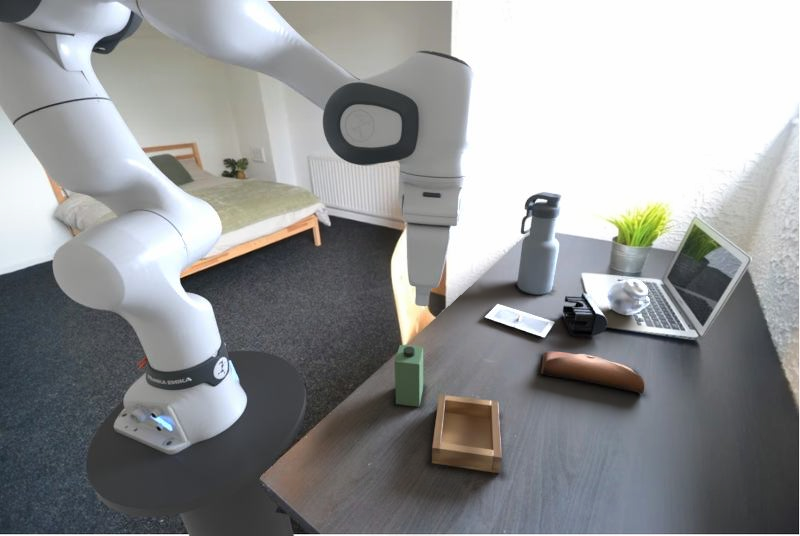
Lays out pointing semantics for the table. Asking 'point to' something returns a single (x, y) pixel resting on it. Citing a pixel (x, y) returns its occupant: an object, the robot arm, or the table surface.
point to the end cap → (584, 316)
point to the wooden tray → (467, 434)
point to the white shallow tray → (520, 320)
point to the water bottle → (539, 245)
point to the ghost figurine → (628, 297)
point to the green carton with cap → (409, 375)
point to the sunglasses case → (591, 370)
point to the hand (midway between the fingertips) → (422, 288)
